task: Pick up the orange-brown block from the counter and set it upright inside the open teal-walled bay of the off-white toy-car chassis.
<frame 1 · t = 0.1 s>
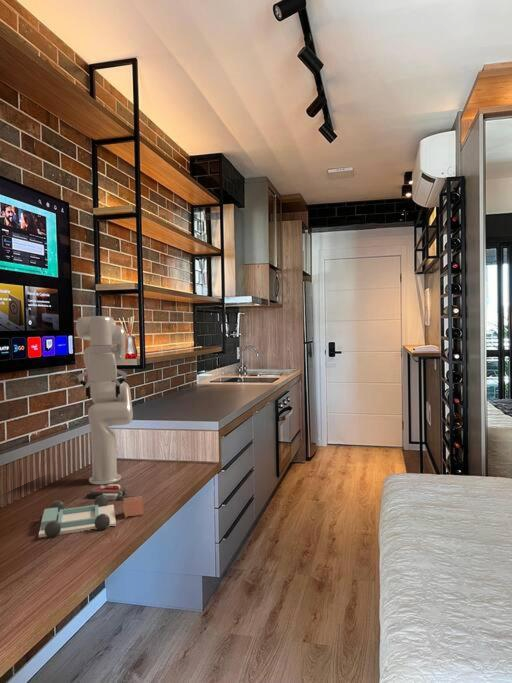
hand: (103, 397, 180), 37 cm above the table, tool pointing down, fingers open, 9 cm apart
chassis: (79, 521, 159), on the table
orange-brown block: (133, 514, 164), on the table
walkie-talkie: (115, 498, 183), on the table
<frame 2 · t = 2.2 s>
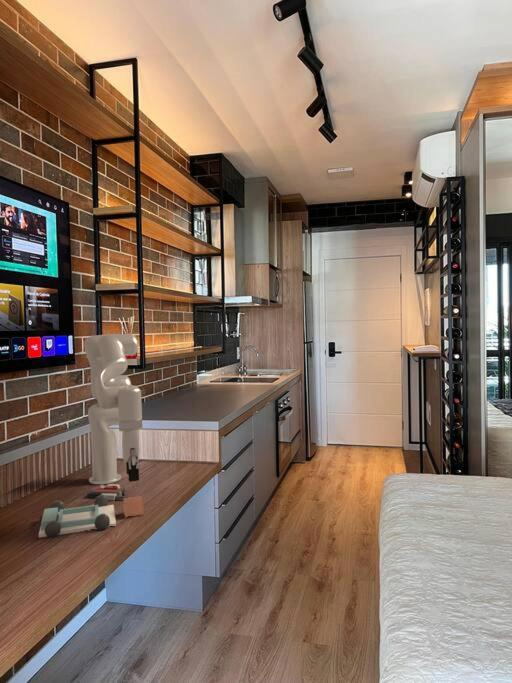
hand: (132, 477, 164), 12 cm above the table, tool pointing down, fingers open, 9 cm apart
nothing on the table moved.
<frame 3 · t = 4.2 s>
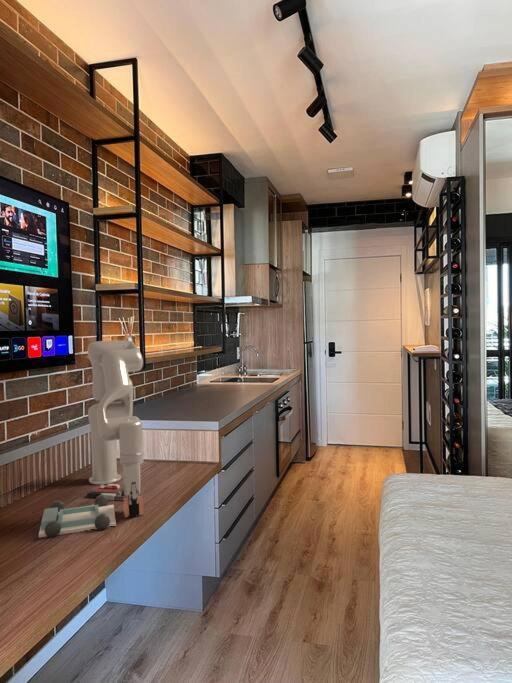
hand: (133, 512, 164), 1 cm above the table, tool pointing down, fingers closed on orange-brown block, 5 cm apart
orange-brown block: (133, 514, 164), on the table, touching gripper
everything else where it was.
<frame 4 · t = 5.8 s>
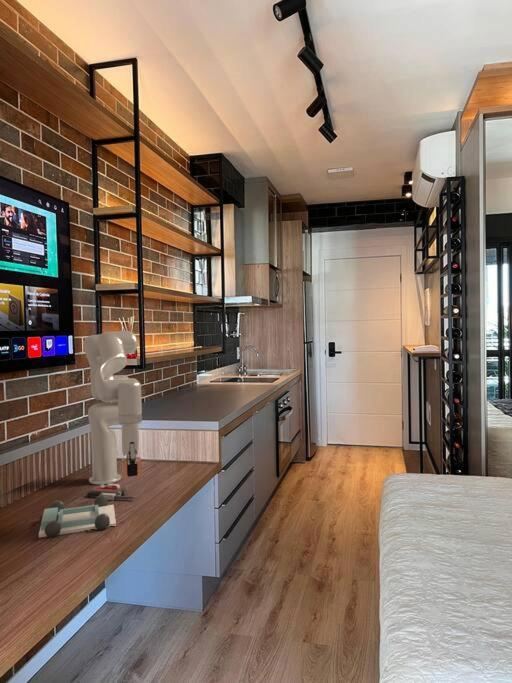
hand: (131, 472, 164), 13 cm above the table, tool pointing down, fingers closed on orange-brown block, 5 cm apart
orange-brown block: (131, 474, 164), point 13 cm above the table, touching gripper
everything else where it was.
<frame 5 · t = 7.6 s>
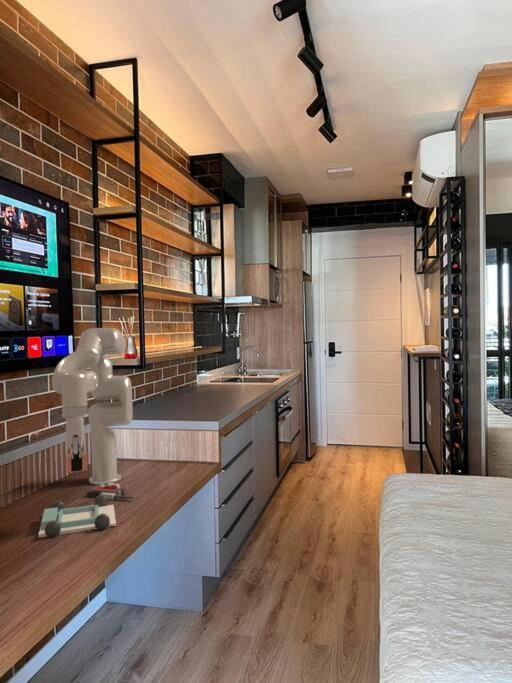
hand: (77, 467, 159), 17 cm above the table, tool pointing down, fingers closed on orange-brown block, 5 cm apart
orange-brown block: (77, 469, 159), point 17 cm above the table, touching gripper
everything else where it was.
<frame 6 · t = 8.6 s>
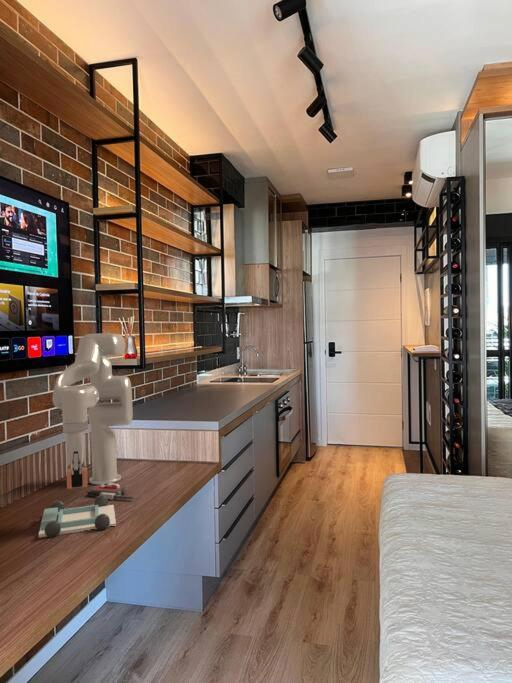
hand: (77, 483, 158), 12 cm above the table, tool pointing down, fingers closed on orange-brown block, 5 cm apart
orange-brown block: (77, 485, 158), point 12 cm above the table, touching gripper
when the fingers open (4 cm above the table, at t = 10.8 s): orange-brown block drops 2 cm, resting on chassis.
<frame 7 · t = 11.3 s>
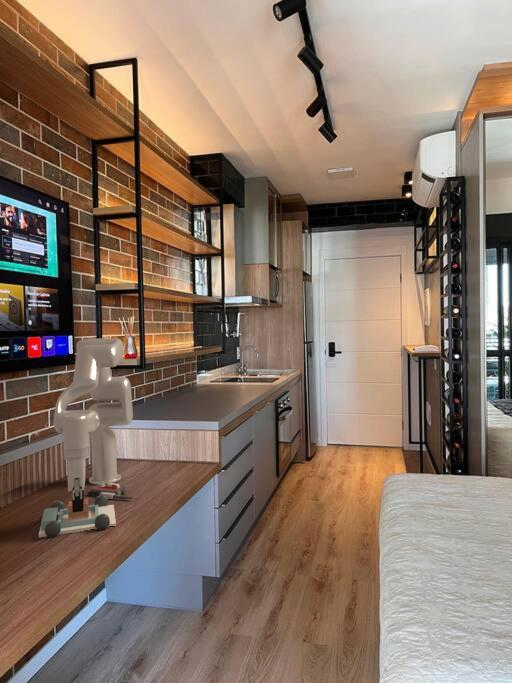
hand: (78, 506, 159), 5 cm above the table, tool pointing down, fingers open, 9 cm apart
orange-brown block: (78, 518, 159), point 1 cm above the table, touching chassis
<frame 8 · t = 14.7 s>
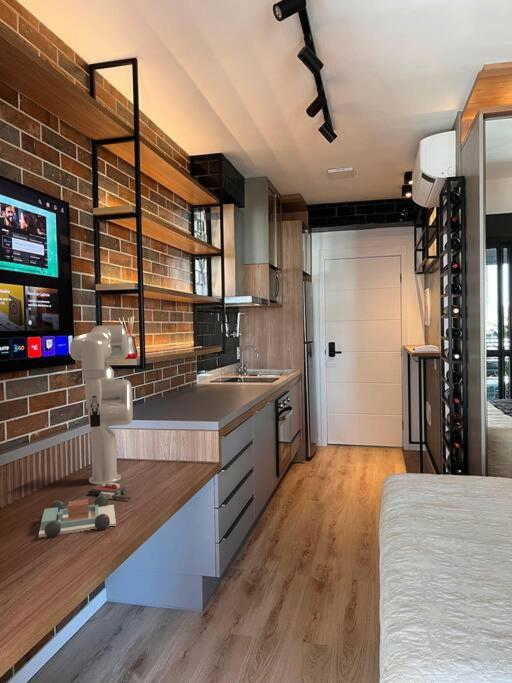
hand: (95, 424, 174), 28 cm above the table, tool pointing down, fingers open, 9 cm apart
at the end: orange-brown block 0.1 cm off-centre on the chassis, point 1.0 cm above the chassis's base; orange-brown block tilted 0°; the gripper is holding nothing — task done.
